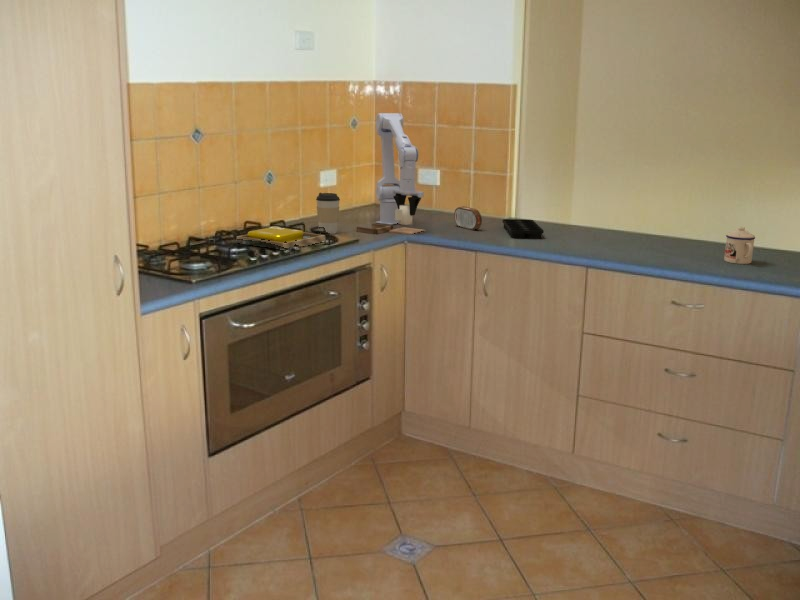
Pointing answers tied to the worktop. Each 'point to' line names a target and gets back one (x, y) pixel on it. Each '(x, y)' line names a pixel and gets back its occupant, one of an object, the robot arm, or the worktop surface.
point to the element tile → (276, 234)
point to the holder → (375, 229)
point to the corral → (303, 242)
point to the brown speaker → (468, 218)
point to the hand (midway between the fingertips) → (406, 214)
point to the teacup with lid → (739, 246)
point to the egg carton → (523, 229)
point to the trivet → (406, 230)
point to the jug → (403, 215)
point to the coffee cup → (328, 211)
